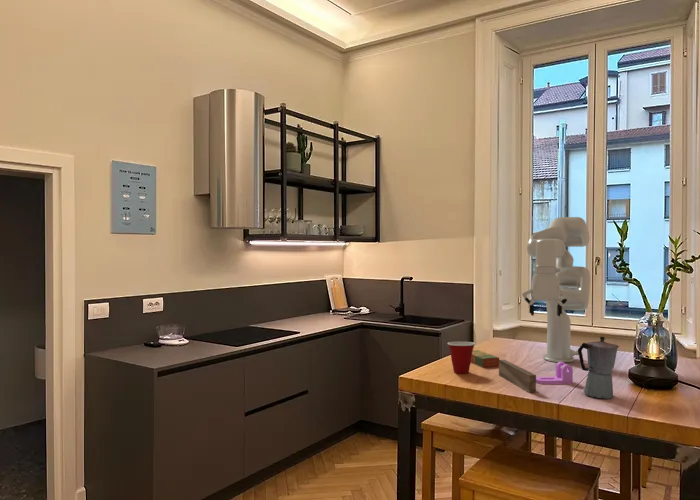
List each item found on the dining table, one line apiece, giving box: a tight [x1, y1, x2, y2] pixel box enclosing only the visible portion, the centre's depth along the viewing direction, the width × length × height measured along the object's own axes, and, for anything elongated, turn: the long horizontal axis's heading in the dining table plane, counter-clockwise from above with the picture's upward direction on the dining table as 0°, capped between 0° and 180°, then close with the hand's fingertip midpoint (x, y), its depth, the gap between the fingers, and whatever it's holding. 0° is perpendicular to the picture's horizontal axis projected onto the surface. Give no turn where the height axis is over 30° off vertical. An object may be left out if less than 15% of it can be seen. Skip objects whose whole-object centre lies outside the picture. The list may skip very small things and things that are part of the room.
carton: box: [471, 349, 500, 369], centre depth 229 cm, size 8×16×4 cm, turn 19°
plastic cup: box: [447, 341, 476, 375], centre depth 213 cm, size 11×11×12 cm
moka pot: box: [577, 336, 620, 400], centre depth 181 cm, size 10×15×20 cm, turn 106°
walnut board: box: [498, 359, 537, 394], centre depth 196 cm, size 2×24×6 cm, turn 9°
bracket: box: [536, 362, 574, 385], centre depth 199 cm, size 13×6×7 cm, turn 95°
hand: (545, 315), depth 207 cm, fingers open, 9 cm apart
